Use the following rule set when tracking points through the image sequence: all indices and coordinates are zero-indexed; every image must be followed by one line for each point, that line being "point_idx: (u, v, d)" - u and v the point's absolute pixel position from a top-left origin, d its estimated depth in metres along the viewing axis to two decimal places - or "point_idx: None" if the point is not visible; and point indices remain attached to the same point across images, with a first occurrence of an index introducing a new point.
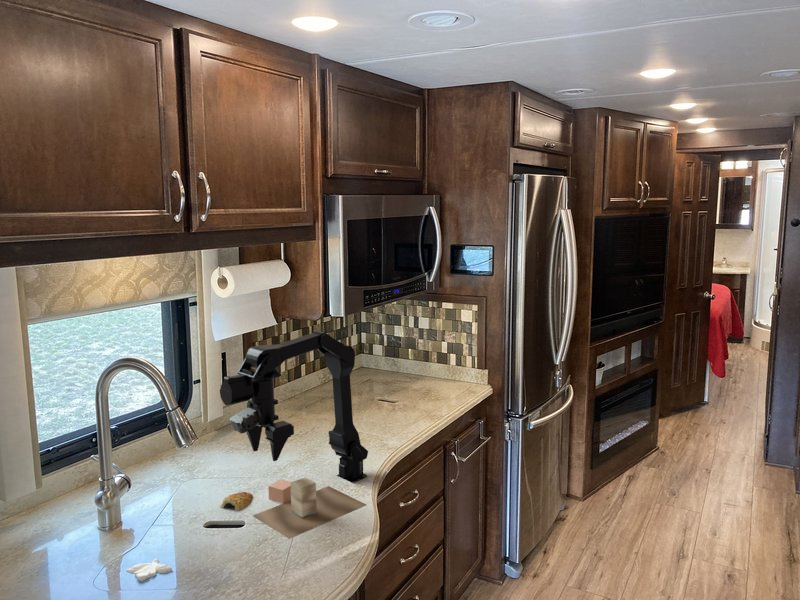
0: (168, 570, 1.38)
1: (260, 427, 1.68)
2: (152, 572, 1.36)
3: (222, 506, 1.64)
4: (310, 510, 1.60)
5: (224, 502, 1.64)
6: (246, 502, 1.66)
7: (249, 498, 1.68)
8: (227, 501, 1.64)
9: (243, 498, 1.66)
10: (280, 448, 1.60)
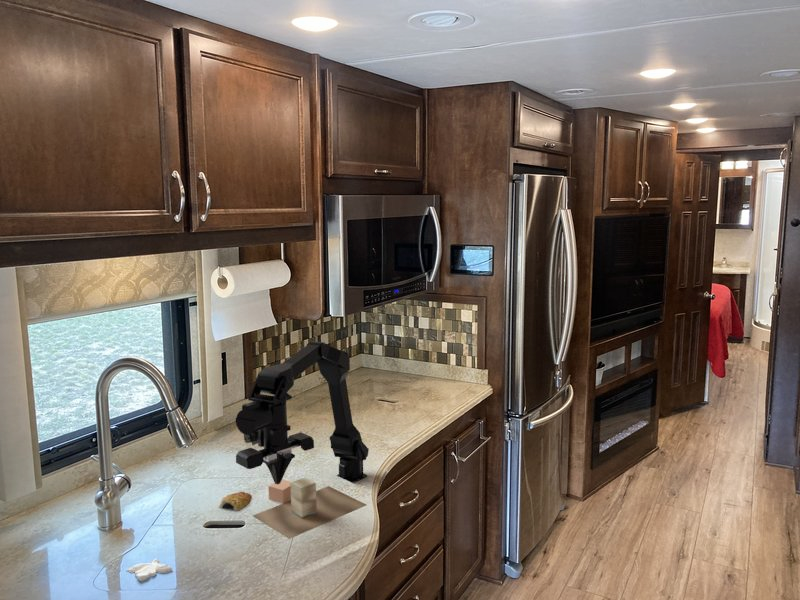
0: (168, 570, 1.38)
1: (283, 462, 1.53)
2: (152, 572, 1.36)
3: (221, 506, 1.64)
4: (310, 510, 1.60)
5: (223, 502, 1.64)
6: (245, 502, 1.66)
7: (247, 498, 1.68)
8: (226, 501, 1.64)
9: (242, 498, 1.66)
10: (274, 473, 1.53)
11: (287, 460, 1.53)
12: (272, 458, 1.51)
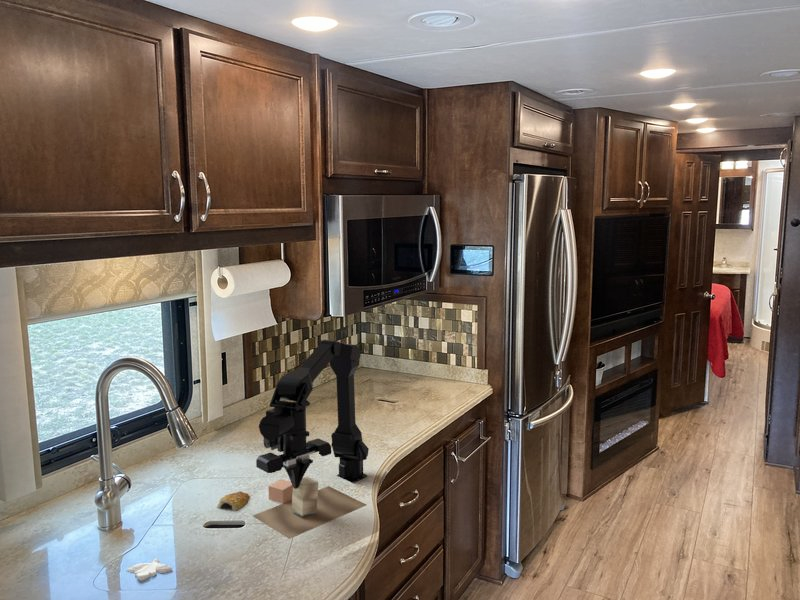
0: (168, 570, 1.38)
1: (301, 467, 1.57)
2: (152, 572, 1.36)
3: (219, 506, 1.64)
4: (310, 509, 1.60)
5: (221, 502, 1.64)
6: (243, 502, 1.66)
7: (246, 498, 1.68)
8: (224, 501, 1.64)
9: (240, 498, 1.66)
10: (293, 478, 1.57)
11: (305, 465, 1.57)
12: (291, 463, 1.55)
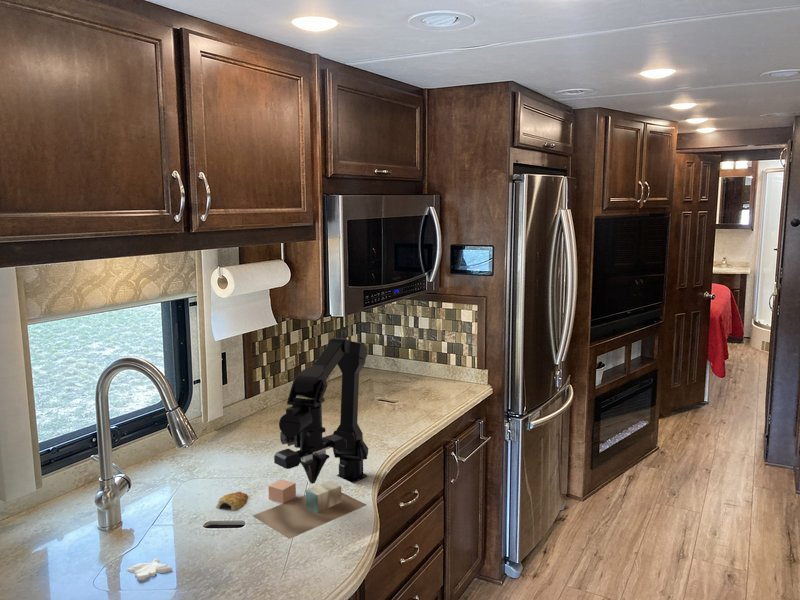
0: (168, 570, 1.38)
1: (318, 462, 1.61)
2: (152, 572, 1.36)
3: (218, 506, 1.64)
4: (320, 504, 1.62)
5: (220, 502, 1.64)
6: (242, 502, 1.66)
7: (244, 498, 1.68)
8: (223, 501, 1.64)
9: (239, 498, 1.66)
10: (310, 473, 1.60)
11: (322, 461, 1.60)
12: (308, 458, 1.58)
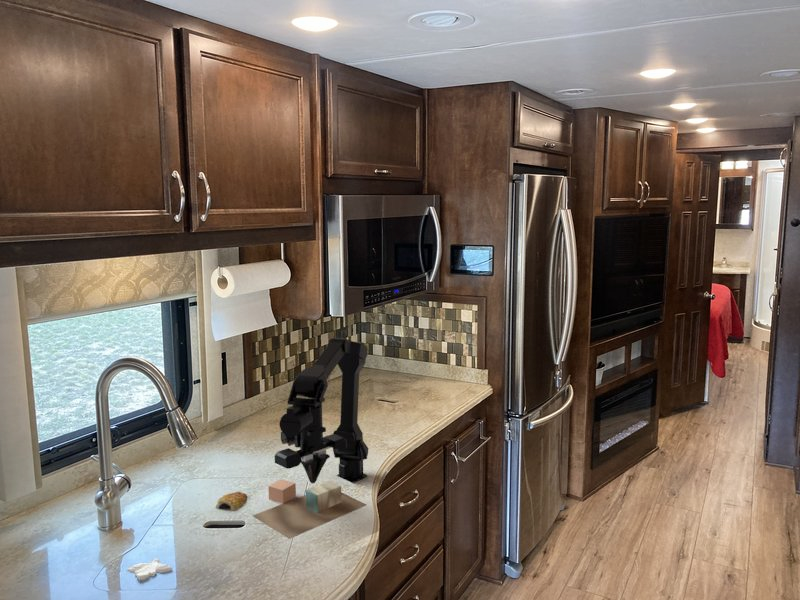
0: (168, 570, 1.38)
1: (318, 462, 1.61)
2: (152, 572, 1.36)
3: (217, 506, 1.64)
4: (320, 504, 1.62)
5: (219, 502, 1.64)
6: (241, 502, 1.66)
7: (244, 498, 1.68)
8: (222, 501, 1.64)
9: (238, 498, 1.66)
10: (310, 473, 1.60)
11: (322, 460, 1.60)
12: (309, 458, 1.58)
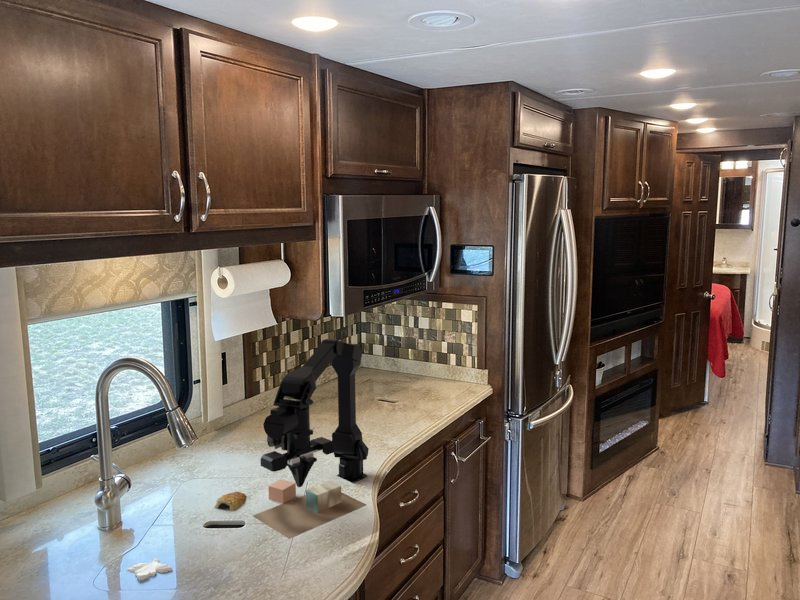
0: (168, 570, 1.38)
1: (305, 465, 1.58)
2: (152, 571, 1.37)
3: (216, 506, 1.64)
4: (320, 504, 1.62)
5: (218, 502, 1.64)
6: (240, 502, 1.66)
7: (243, 498, 1.68)
8: (221, 501, 1.64)
9: (237, 498, 1.66)
10: (297, 476, 1.57)
11: (309, 464, 1.58)
12: (295, 461, 1.55)
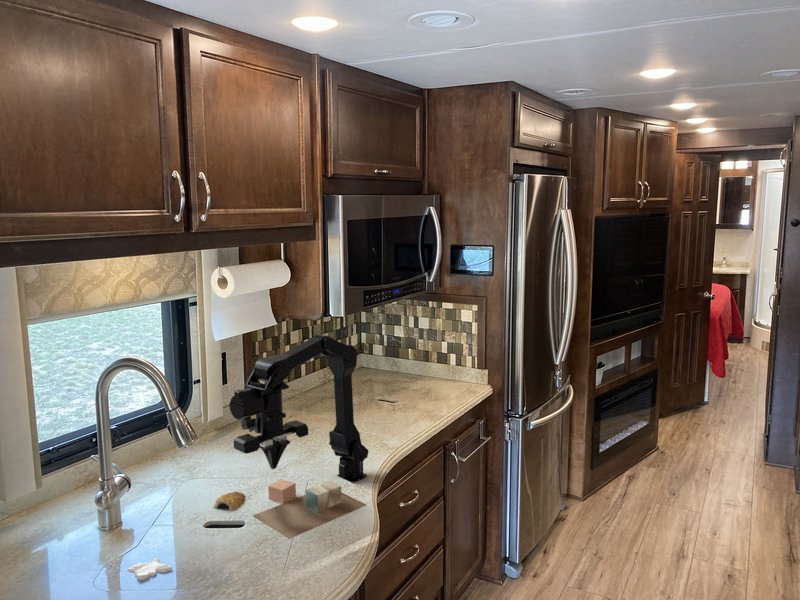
0: (168, 570, 1.38)
1: (278, 448, 1.60)
2: (152, 571, 1.37)
3: (215, 506, 1.64)
4: (320, 504, 1.62)
5: (217, 502, 1.64)
6: (239, 502, 1.66)
7: (242, 498, 1.68)
8: (221, 501, 1.64)
9: (236, 498, 1.66)
10: (270, 458, 1.60)
11: (282, 446, 1.60)
12: (268, 444, 1.58)
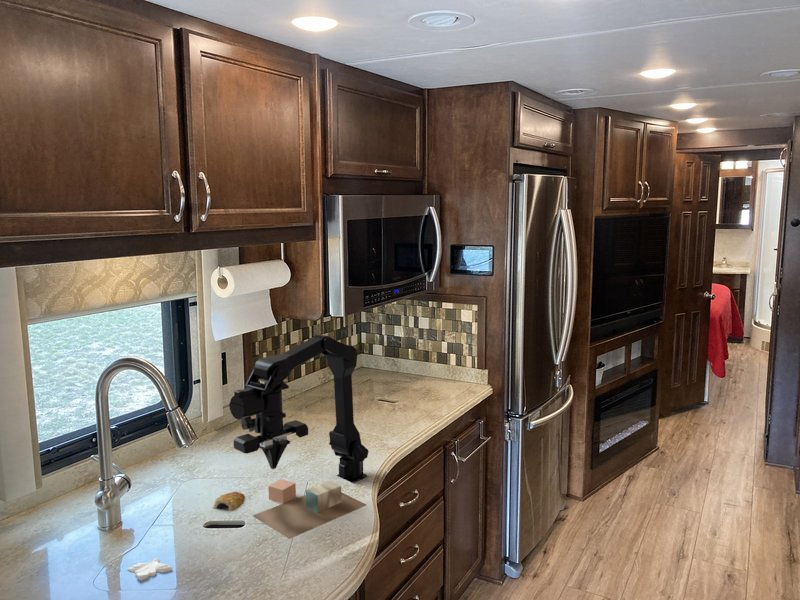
0: (168, 570, 1.38)
1: (278, 448, 1.60)
2: (152, 571, 1.37)
3: (215, 506, 1.64)
4: (320, 504, 1.62)
5: (217, 502, 1.64)
6: (239, 502, 1.66)
7: (241, 497, 1.68)
8: (220, 501, 1.64)
9: (236, 498, 1.66)
10: (270, 458, 1.60)
11: (282, 446, 1.60)
12: (268, 444, 1.58)
